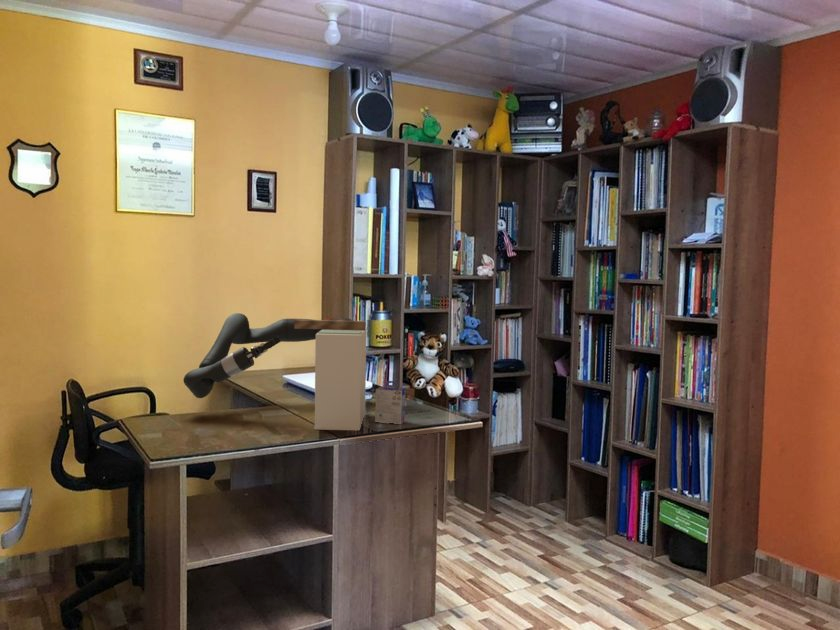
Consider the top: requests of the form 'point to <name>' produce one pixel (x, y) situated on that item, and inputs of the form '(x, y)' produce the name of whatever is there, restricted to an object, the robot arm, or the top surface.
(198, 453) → the top surface
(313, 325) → the walnut rod
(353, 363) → the tall tan cardboard box
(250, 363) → the robot arm
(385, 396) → the ink cartridge box
